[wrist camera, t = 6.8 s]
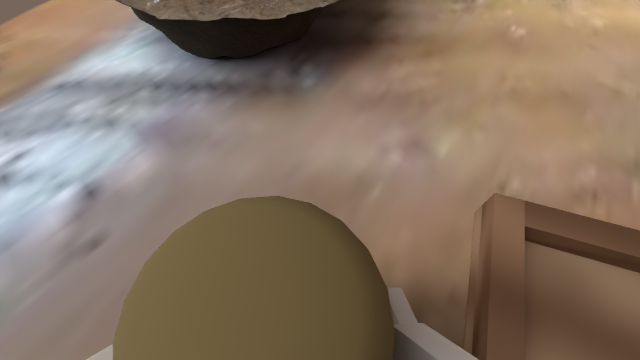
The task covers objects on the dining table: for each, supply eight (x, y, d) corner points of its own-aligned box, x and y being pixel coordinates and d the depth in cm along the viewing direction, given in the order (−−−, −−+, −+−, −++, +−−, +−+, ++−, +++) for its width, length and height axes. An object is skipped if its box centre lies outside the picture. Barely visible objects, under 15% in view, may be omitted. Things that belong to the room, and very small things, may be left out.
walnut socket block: (806, 609, 11) (930, 673, 8) (453, 460, 13) (480, 480, 11) (706, 275, 16) (764, 263, 14) (475, 212, 18) (494, 192, 16)
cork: (279, 259, 16) (196, 118, 7) (388, 307, 15) (477, 212, 5) (216, 382, 13) (-72, 435, 4) (341, 457, 12) (353, 826, 2)
